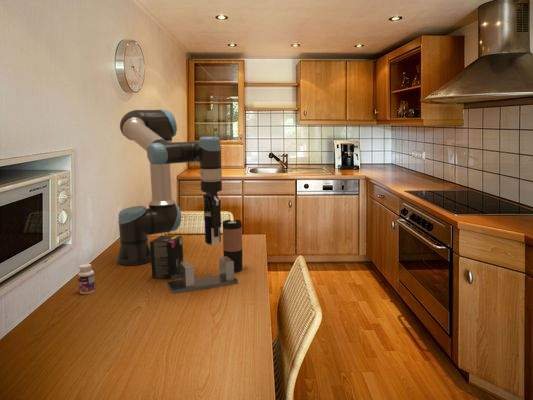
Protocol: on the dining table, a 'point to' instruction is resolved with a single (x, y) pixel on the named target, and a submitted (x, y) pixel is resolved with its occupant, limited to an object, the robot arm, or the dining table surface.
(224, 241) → the travel mug
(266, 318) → the dining table surface
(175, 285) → the vise base
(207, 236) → the beverage can
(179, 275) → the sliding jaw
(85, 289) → the pill bottle
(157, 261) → the tampon box
